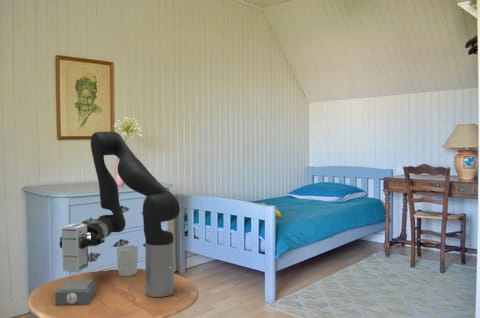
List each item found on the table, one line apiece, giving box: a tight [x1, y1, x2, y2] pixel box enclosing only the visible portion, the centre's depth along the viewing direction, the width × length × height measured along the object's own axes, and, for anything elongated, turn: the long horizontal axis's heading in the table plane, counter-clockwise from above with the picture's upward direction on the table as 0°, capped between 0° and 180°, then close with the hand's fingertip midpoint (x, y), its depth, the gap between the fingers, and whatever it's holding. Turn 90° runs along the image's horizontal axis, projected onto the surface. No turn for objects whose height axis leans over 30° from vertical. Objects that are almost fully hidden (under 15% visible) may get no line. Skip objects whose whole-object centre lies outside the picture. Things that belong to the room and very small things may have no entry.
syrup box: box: [61, 222, 89, 273], centre depth 142 cm, size 6×6×14 cm
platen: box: [59, 279, 93, 291], centre depth 142 cm, size 8×8×1 cm
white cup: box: [116, 244, 139, 277], centre depth 167 cm, size 8×8×10 cm
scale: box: [54, 280, 97, 306], centre depth 141 cm, size 10×11×4 cm
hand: (71, 245), depth 140 cm, fingers closed on syrup box, 6 cm apart
